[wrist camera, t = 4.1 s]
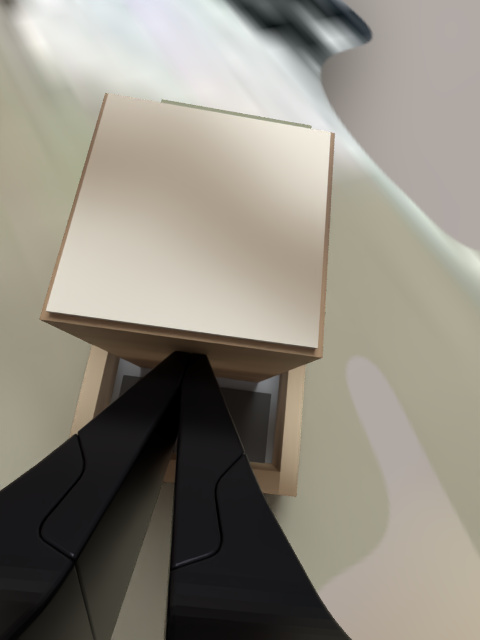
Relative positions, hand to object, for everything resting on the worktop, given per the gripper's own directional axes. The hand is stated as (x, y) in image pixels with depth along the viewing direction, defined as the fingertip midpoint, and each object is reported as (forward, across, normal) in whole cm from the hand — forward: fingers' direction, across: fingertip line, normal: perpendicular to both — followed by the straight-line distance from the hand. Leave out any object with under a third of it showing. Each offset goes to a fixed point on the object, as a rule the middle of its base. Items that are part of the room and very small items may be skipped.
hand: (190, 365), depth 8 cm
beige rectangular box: (+7, 0, +3) cm, 7 cm away
